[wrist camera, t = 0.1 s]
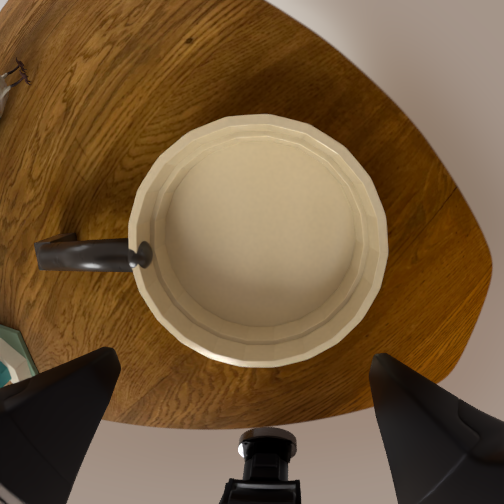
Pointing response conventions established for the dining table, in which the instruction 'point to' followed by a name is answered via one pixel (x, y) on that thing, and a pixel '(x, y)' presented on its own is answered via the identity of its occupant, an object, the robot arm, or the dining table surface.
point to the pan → (259, 240)
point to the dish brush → (12, 365)
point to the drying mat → (17, 345)
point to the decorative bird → (1, 89)
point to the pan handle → (90, 254)
